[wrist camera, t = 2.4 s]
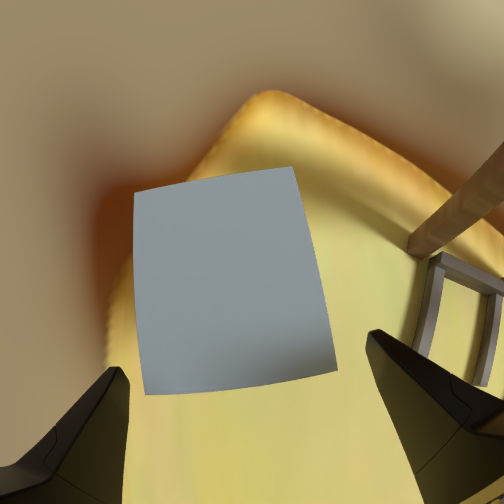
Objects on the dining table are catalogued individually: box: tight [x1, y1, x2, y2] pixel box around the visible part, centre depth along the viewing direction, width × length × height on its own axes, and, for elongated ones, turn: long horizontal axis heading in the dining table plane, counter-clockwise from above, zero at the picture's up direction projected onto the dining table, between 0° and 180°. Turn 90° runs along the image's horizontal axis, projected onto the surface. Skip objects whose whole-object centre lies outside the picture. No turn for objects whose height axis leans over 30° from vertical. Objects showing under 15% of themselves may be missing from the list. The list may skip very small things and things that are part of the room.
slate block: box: [133, 166, 338, 395], centre depth 13 cm, size 6×5×12 cm
